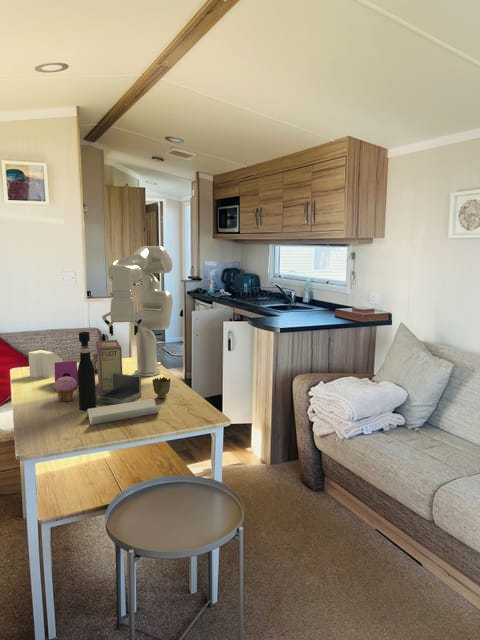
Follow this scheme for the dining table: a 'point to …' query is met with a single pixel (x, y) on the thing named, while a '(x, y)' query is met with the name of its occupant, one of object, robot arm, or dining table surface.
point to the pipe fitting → (95, 361)
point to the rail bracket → (122, 390)
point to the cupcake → (65, 388)
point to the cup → (161, 387)
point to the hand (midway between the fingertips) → (123, 335)
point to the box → (108, 363)
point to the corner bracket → (43, 363)
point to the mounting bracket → (66, 370)
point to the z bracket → (122, 411)
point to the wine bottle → (86, 376)
